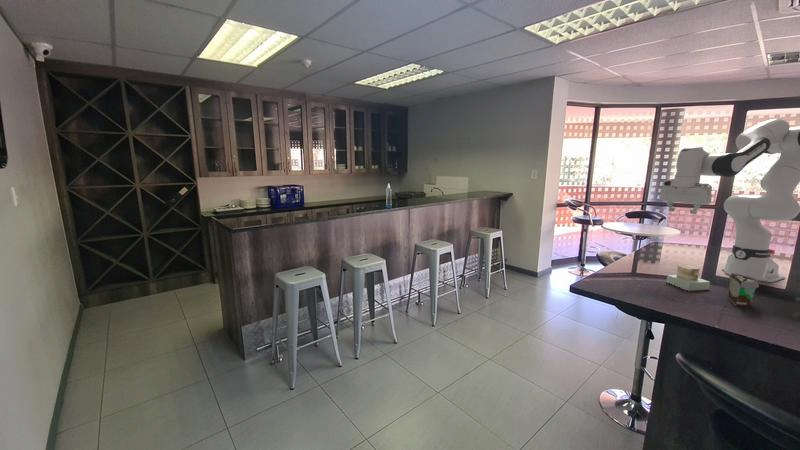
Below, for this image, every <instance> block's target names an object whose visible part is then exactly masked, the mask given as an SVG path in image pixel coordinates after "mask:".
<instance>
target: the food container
mask: <svg viewBox="0 0 800 450" xmlns="http://www.w3.org/2000/svg"><path fill="white" fill-rule="evenodd" d="M759 284H760V283H759V280H757V279H755V278H752V277H749V276H745V275H740V274H734V273H731V275H729V284H728V290H727V291H728V292H727V298H728V299H729V300H730V302H731V303H733V305H735V306H736V307H746V308H747V307H750V306H751V304H752V301H753V298H754V295H755V292H756V289H758V288H759V287H760V285H759Z"/></svg>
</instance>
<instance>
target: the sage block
mask: <svg viewBox="0 0 800 450" xmlns="http://www.w3.org/2000/svg"><path fill="white" fill-rule="evenodd" d="M665 281H666V282H667V283H666V282H665V283H666V284H669V283H670V284H669V285H671V284H672V286H674V285H675V287H677V288H679V287H680V289H682V290H685V291H687V290H688V292H689V291H691V292H693V291H706V290H709V289H710V286H711V285H710V284H711V281H709V280H705V279H703V278H700V277H698V280H685V279H682V278H679V277H677V274H668V275H667V276H666V280H665Z"/></svg>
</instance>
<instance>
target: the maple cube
mask: <svg viewBox="0 0 800 450" xmlns="http://www.w3.org/2000/svg"><path fill="white" fill-rule="evenodd" d="M699 273H700V268H698V267H695V266H691V265H688V264H687V265H677V271H676V275H677V277H679V278H682V279H685V280H698V278H699Z"/></svg>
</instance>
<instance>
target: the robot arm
mask: <svg viewBox="0 0 800 450" xmlns="http://www.w3.org/2000/svg"><path fill="white" fill-rule="evenodd" d="M735 145H736V148H737V149H738V151H736V152H728V153H714V154H713V153H710V152H707V151H706V150H704V147H703V146H690V147H684V148H682V149H681V150H680V151H679V153H678V156H677V161H676V164H675V169H676V172H675V174H674V178H672V179H669V180H664V181H662V183H661V185H662V187H661V189H660V192H659V200H660V201H661V202H666V205H667V206H668V211H669V212H675V210H676V207H674V206H673V204H674V203H678V204H679V203H681V204H691V205H692V204H693V208H692V209H690V210H689V214H690V215H696V214H697V211H698V210H699V209H700V208H701V206H706V205H707V206H709V205H710V204H711V203H712V190H713V186H712V185H710V184H709V183H700V181H701V176H706V177H707V176H710V177H711V176H712V177H713V176H714V177H725V178H726V177H727V178H731V177H734V176H736V175H738V174H739V173H741V171H743V169H744V168H746V166H747V165H749V164H750V163H751V162H752V161H753V162H754V161H755V160H756V159H757V158H758V157H760V156H762V155H763V154H767V155H768V154H769V155H772V154H780V156H779V159H777V161H776V162H774V163H773V165H772V166H771V167H770V168H769V170H768V171H767V172H766V173H765V175H764V176H763V177H762V179H760V182H759V183H760V187H761V189H763V191H766V192H765V193H764V194H762V195H761V194H734V195H731V196H729V197H728V198H726V199H725V201H724V202H723V209H724V212H726V213H727V214H728V215H729V216H730V217H731V219H732V220H733V222H734V225H735V240H734V244H733V245H732V248H731V253H730V254H728V256H727V259H726V263H725V266H724V267H721V271H723V272H724V273H725V274H726V275H729V276H730V275H731V273H734V274H740V275H745V276H749V277H752V278H755V279H757V280H758V282H760V281H761V282H765V283H774V282H777V281H780V280H783V279H786V276H785V275H784V274H780V273H779V270H780V268H779V267H780V266H779V264H778V263H777V262H775V261H774V260H773V259H772V258H771V254H775V253H776V250H775V249H771V248H770V244H771V240H772V233H771V231H770V230H769V229H768V228H766V227H765V226H763V224H762V223H761V222H762V221H761V220H765V221H771V222H782V221H783V222H784V221H786V222H787V221H791V220H794V219H795V218H796V217H797V216H798V215H799V213H800V203H799V202H798V200H796V199H795V198H794V192H795V190H796V188H797V186H798V185H799V183H800V126H794V127H791V126H790V123H788V121H786V120H784V119H781V118H773V119H768V120H766V121H765V120H764V121H763V122H760V123H757V124H755V125H754V126H751V127H749V128H747V129H746V130H744V131H742V132H741V133H739V134H738V136H737V137H736V138H735Z"/></svg>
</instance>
